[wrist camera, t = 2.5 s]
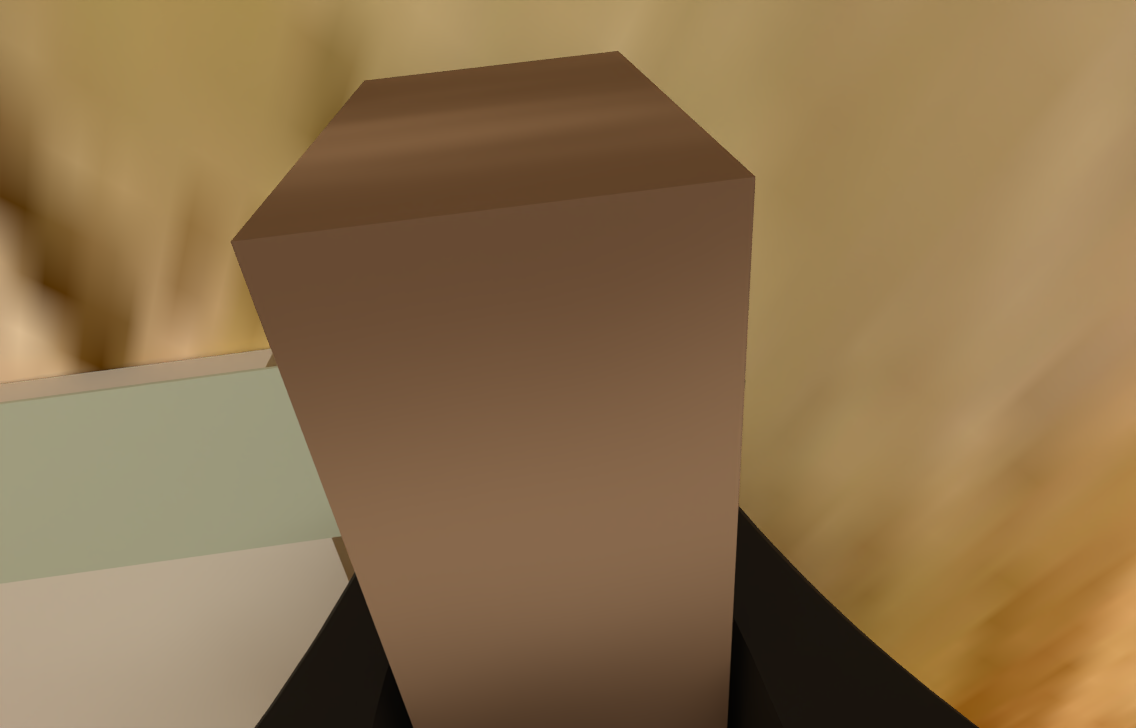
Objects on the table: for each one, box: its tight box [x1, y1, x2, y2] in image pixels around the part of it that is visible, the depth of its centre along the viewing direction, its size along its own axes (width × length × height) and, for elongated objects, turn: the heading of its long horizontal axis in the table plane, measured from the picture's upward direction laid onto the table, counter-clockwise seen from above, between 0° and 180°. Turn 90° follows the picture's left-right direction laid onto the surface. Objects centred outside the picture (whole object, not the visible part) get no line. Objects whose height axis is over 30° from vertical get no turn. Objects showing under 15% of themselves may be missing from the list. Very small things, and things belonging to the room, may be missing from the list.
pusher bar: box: [231, 51, 755, 728], centre depth 9 cm, size 12×3×5 cm, turn 6°
